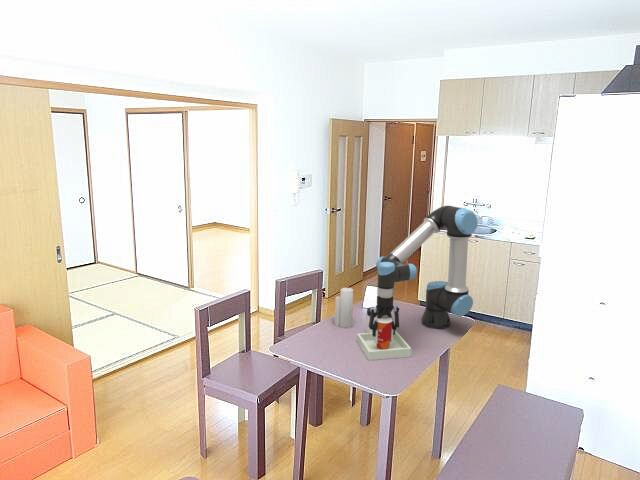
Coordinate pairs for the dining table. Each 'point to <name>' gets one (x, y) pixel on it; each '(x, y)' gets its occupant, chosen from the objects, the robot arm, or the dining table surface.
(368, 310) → the jar
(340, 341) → the dining table surface
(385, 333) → the coffee cup
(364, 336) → the bin
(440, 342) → the dining table surface
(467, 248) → the robot arm
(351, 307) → the candle
